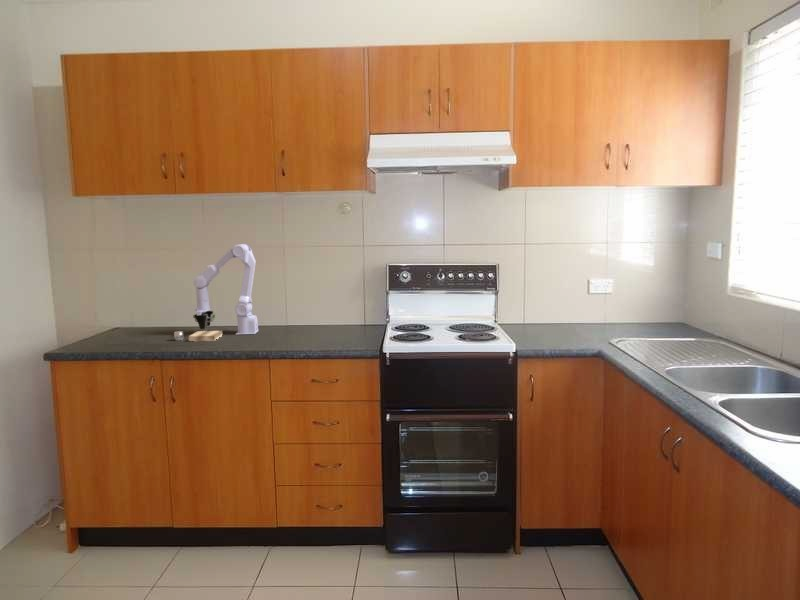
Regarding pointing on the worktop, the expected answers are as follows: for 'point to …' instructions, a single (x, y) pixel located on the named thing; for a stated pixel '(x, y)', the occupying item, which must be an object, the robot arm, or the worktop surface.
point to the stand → (205, 336)
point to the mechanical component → (206, 320)
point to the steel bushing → (178, 335)
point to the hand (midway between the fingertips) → (205, 327)
